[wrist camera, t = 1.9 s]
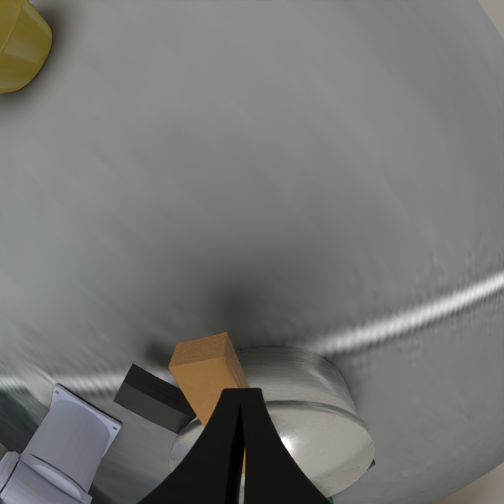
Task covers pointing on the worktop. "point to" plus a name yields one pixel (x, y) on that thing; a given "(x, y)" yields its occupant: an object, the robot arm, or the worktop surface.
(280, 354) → the cooker pot
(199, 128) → the worktop surface
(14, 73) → the plant pot
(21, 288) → the worktop surface
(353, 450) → the lid
